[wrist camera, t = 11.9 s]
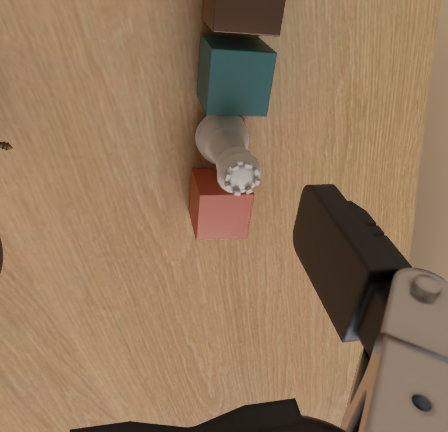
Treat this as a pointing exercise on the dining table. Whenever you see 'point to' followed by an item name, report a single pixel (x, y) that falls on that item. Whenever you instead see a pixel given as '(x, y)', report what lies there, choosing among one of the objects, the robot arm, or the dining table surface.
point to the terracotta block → (217, 208)
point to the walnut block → (244, 16)
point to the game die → (5, 145)
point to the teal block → (235, 75)
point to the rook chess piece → (229, 152)
